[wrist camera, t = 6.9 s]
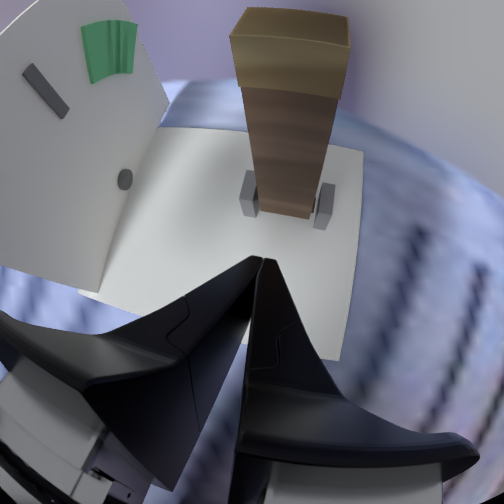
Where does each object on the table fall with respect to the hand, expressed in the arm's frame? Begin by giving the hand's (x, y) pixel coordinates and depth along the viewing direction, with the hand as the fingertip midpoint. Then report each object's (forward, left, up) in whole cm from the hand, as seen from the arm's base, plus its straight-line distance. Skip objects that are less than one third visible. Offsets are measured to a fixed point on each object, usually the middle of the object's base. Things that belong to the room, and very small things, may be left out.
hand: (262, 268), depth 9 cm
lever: (+4, -4, -7) cm, 9 cm away
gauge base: (+7, -1, -9) cm, 12 cm away
